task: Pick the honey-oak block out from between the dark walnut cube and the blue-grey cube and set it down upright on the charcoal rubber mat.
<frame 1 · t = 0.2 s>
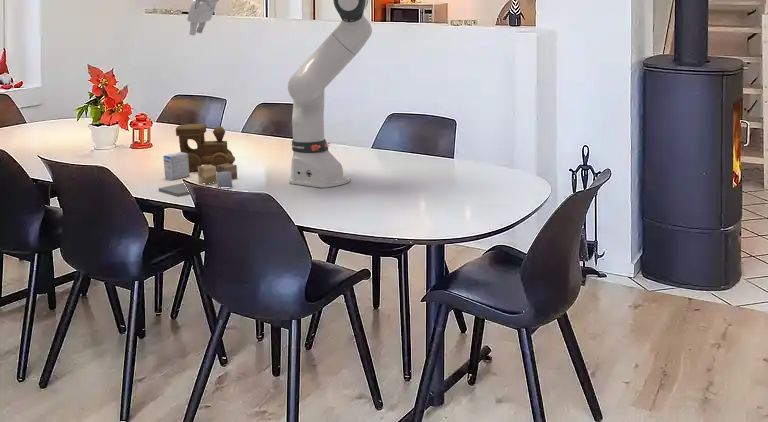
hand: (195, 33, 299), 51 cm above the table, tool tilted 20°, fingers open, 8 cm apart
wooden toy train: (207, 169, 331), on the table
oak block: (207, 183, 308), on the table
blue-grey cube: (224, 187, 301), on the table
charcoal mat: (182, 190, 297), on the table
walnut cube: (227, 178, 314), on the table
medicine box: (177, 178, 317), on the table
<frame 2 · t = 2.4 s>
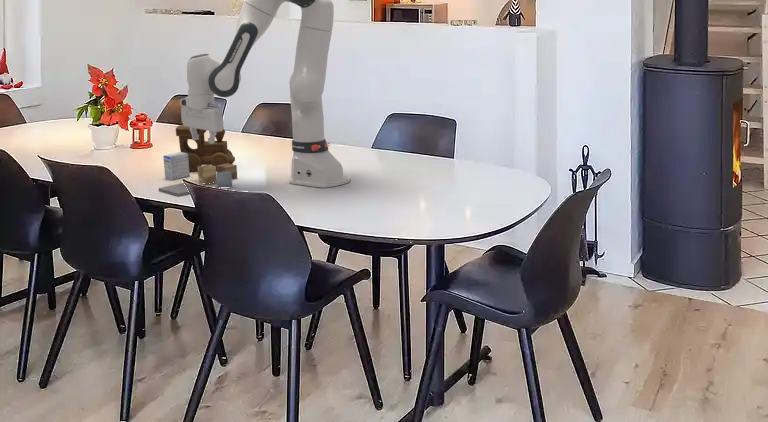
hand: (203, 141, 304), 15 cm above the table, tool pointing down, fingers open, 8 cm apart
nothing on the table moved.
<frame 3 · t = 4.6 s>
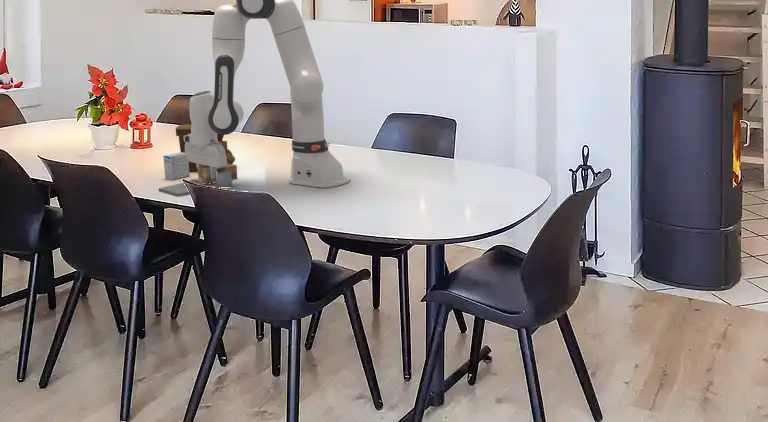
hand: (207, 177, 307), 2 cm above the table, tool pointing down, fingers closed on oak block, 4 cm apart
oak block: (207, 182, 308), on the table, touching gripper
everything else where it was.
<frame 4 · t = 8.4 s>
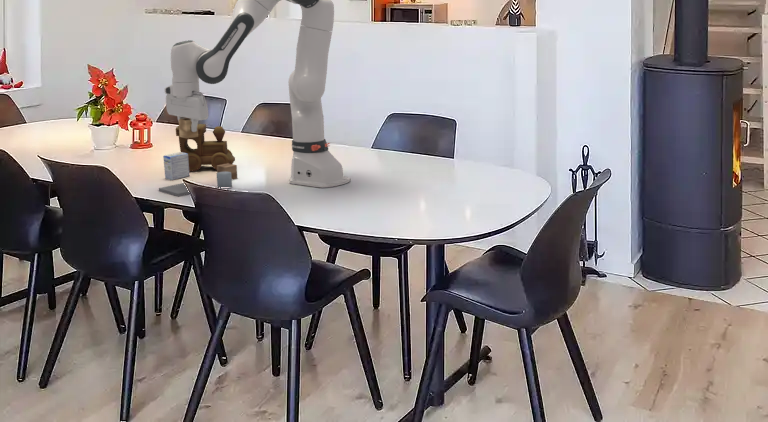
hand: (188, 130, 297), 20 cm above the table, tool pointing down, fingers closed on oak block, 4 cm apart
oak block: (189, 136, 297), point 18 cm above the table, touching gripper
everything else where it was.
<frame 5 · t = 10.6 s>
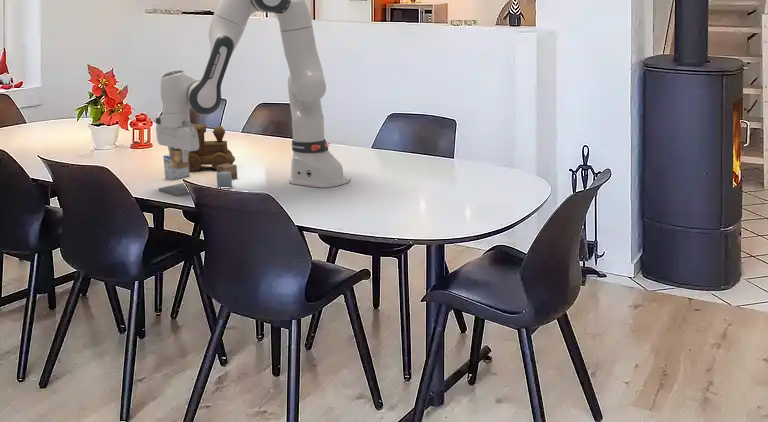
hand: (179, 160, 294), 10 cm above the table, tool pointing down, fingers closed on oak block, 4 cm apart
oak block: (179, 167, 295), point 8 cm above the table, touching gripper
everything else where it was.
when the fingers open (5 cm above the table, at t = 12.5 s): oak block drops 1 cm, resting on charcoal mat.
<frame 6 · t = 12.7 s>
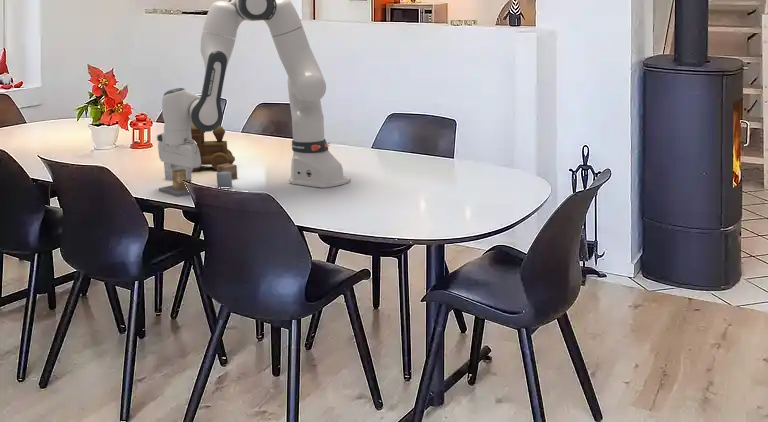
hand: (181, 177, 296), 5 cm above the table, tool pointing down, fingers open, 6 cm apart
oak block: (182, 187, 297), point 1 cm above the table, touching charcoal mat
everything else where it was.
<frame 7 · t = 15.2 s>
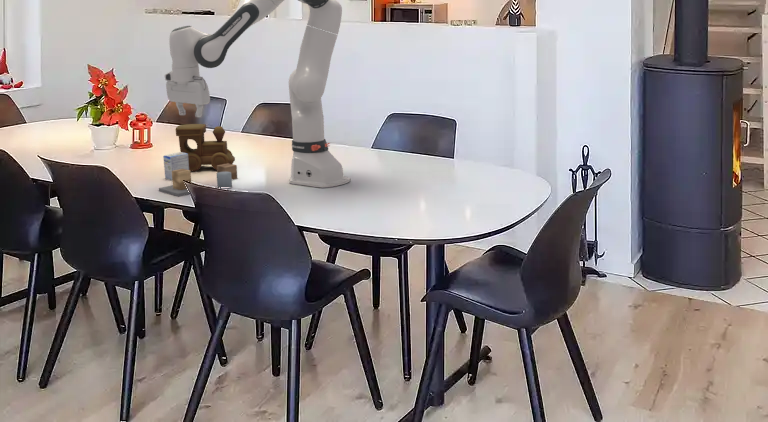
hand: (190, 116, 297), 24 cm above the table, tool pointing down, fingers open, 8 cm apart
nothing on the table moved.
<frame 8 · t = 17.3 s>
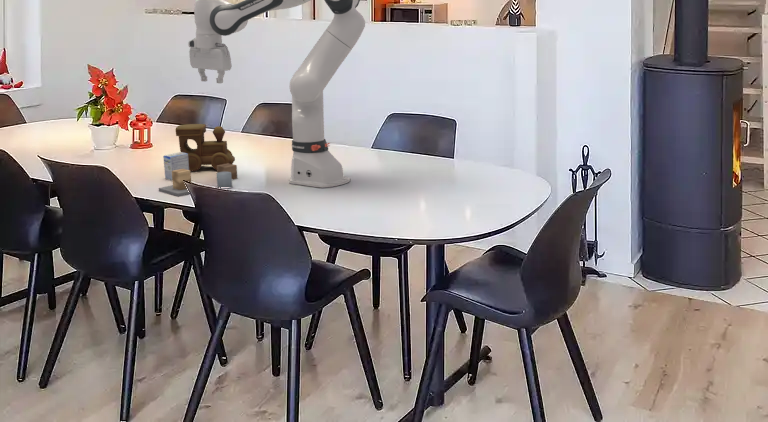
hand: (212, 82, 309), 34 cm above the table, tool pointing down, fingers open, 8 cm apart
nothing on the table moved.
at the end: oak block inside the target area on the charcoal mat (0.0 cm from its centre), point 1.0 cm above the charcoal mat's base; oak block tilted 0°; the gripper is holding nothing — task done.
